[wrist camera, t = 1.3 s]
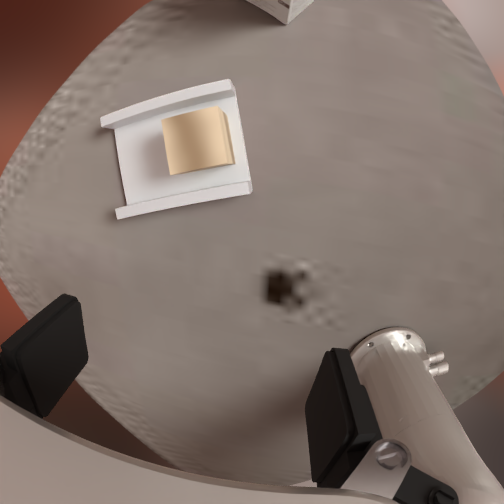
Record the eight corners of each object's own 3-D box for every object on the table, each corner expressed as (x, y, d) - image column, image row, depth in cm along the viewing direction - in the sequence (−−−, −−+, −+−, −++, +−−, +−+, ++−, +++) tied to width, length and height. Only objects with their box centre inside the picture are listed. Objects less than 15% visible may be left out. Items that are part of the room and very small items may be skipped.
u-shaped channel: (234, 87, 29) (229, 78, 26) (252, 190, 33) (249, 193, 29) (116, 120, 31) (100, 117, 28) (132, 213, 34) (117, 219, 31)
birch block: (227, 115, 30) (217, 105, 24) (235, 163, 31) (227, 163, 26) (179, 126, 30) (161, 119, 25) (187, 173, 32) (170, 175, 27)
